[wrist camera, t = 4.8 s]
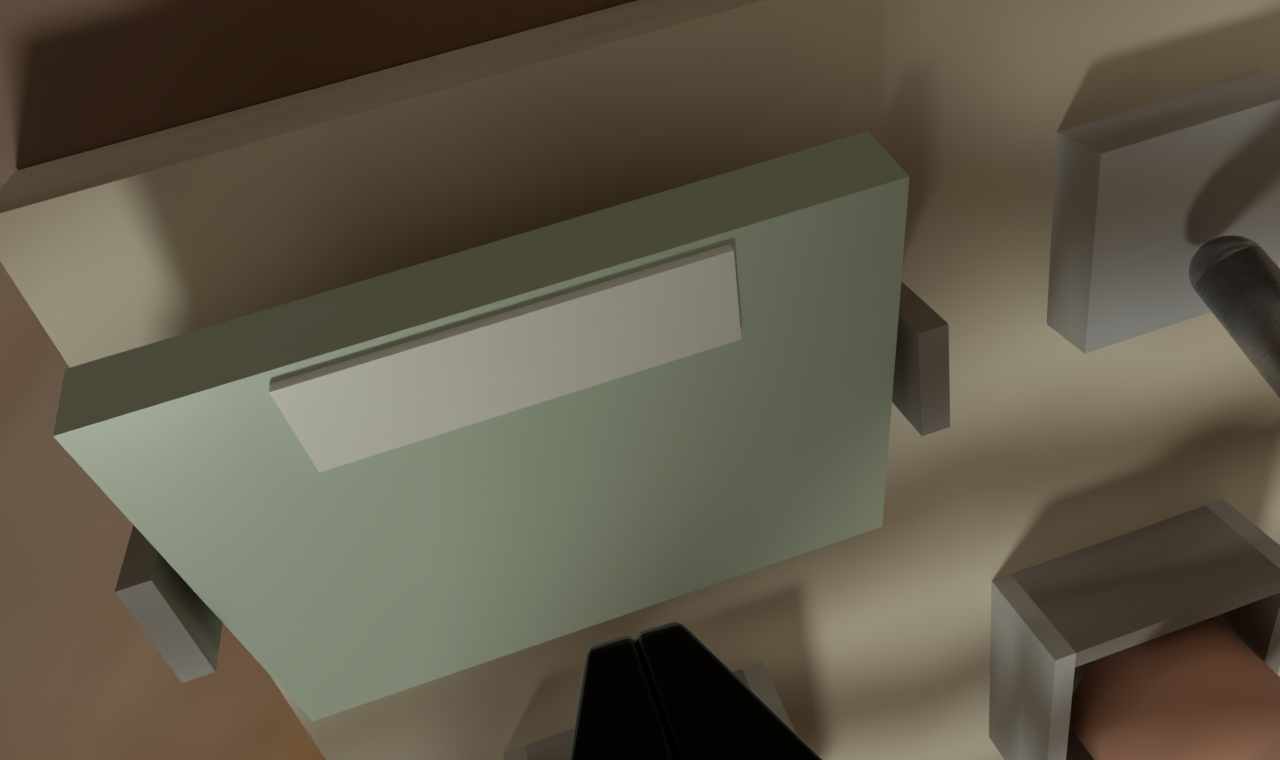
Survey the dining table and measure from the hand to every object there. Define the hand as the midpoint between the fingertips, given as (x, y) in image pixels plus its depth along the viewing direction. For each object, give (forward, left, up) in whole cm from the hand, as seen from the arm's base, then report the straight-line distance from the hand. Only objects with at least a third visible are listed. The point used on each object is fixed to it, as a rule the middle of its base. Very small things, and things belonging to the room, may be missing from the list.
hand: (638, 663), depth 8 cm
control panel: (-9, -6, -11) cm, 15 cm away
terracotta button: (-15, -12, -7) cm, 20 cm away
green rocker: (-3, 0, -7) cm, 7 cm away
